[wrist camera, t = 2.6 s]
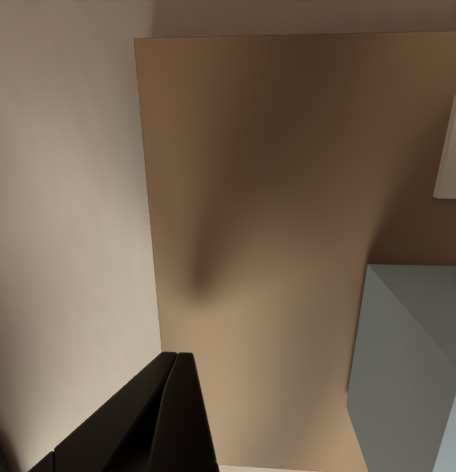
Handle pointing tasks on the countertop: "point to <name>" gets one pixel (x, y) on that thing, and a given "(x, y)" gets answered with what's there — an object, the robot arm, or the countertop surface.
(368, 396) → the force gauge
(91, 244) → the countertop surface
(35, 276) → the countertop surface
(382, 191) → the gauge board
